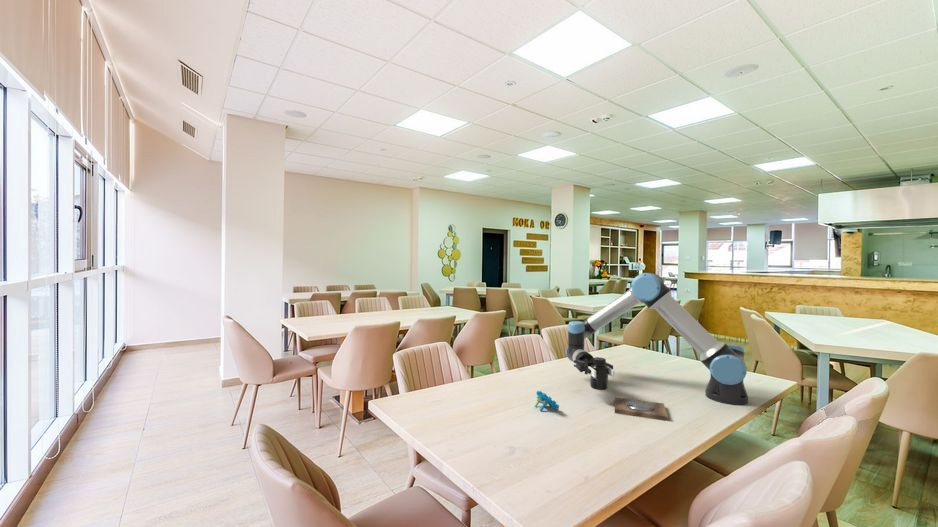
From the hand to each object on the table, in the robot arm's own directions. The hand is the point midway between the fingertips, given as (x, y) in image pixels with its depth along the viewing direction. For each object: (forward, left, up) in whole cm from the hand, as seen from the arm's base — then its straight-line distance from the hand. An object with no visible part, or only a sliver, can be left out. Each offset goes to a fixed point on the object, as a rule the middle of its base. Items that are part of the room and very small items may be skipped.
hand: (604, 374), depth 152 cm
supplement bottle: (+2, -5, -7) cm, 9 cm away
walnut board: (-13, -2, -13) cm, 18 cm away
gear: (+21, +12, -13) cm, 27 cm away
